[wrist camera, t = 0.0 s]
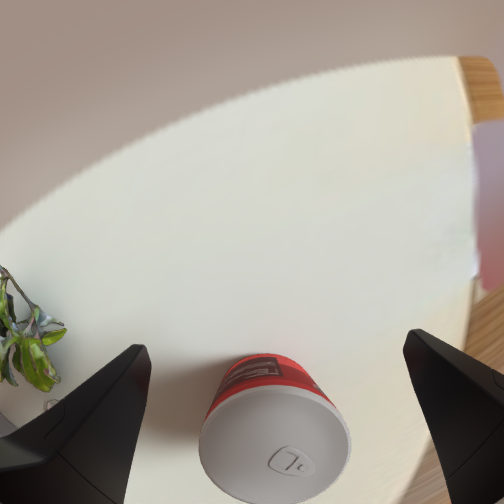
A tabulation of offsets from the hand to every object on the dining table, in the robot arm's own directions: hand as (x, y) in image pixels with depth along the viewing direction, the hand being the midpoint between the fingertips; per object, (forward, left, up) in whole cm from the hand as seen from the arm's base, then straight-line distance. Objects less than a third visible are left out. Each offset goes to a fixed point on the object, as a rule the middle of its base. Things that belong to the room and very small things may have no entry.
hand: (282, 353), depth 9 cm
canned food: (-5, +3, -15) cm, 16 cm away
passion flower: (+10, +21, -15) cm, 28 cm away
